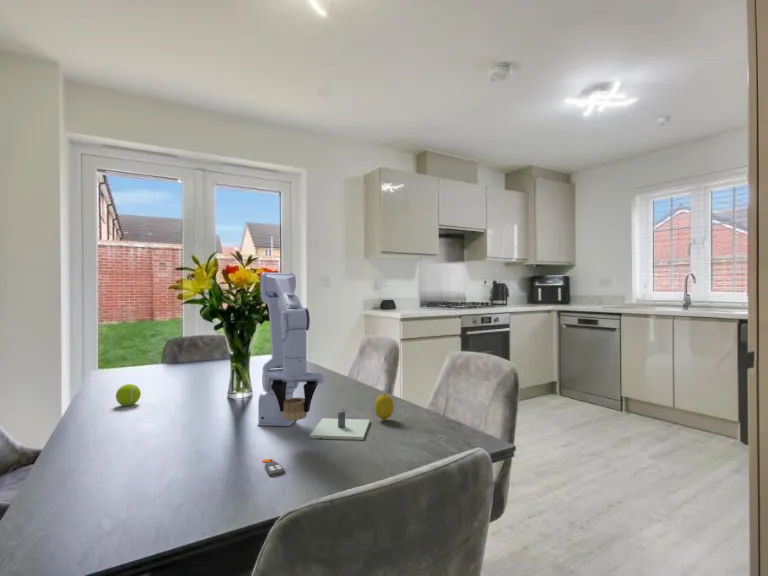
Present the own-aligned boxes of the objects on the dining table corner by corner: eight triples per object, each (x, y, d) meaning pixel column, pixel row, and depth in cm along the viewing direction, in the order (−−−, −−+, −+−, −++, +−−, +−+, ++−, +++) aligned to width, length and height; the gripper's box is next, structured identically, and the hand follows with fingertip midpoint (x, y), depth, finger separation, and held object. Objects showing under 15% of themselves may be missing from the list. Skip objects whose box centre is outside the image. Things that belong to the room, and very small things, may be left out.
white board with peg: (310, 438, 108) (310, 418, 108) (322, 420, 122) (322, 403, 122) (363, 439, 107) (363, 420, 107) (369, 422, 121) (369, 405, 121)
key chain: (287, 475, 88) (287, 468, 88) (269, 479, 86) (269, 472, 86) (270, 454, 99) (270, 448, 99) (254, 457, 97) (254, 451, 97)
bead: (280, 419, 101) (280, 403, 101) (287, 412, 107) (287, 397, 107) (302, 420, 101) (302, 404, 101) (308, 413, 106) (308, 397, 106)
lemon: (391, 424, 119) (391, 396, 119) (372, 422, 120) (372, 395, 120) (394, 418, 125) (395, 391, 125) (376, 417, 126) (377, 390, 126)
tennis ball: (144, 402, 142) (144, 382, 142) (133, 408, 135) (133, 386, 135) (123, 402, 141) (124, 382, 141) (111, 408, 134) (111, 387, 134)
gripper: (260, 358, 101) (260, 414, 101) (319, 359, 99) (319, 416, 99) (271, 354, 108) (271, 406, 108) (326, 355, 106) (326, 408, 106)
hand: (294, 410), depth 104 cm, fingers closed on bead, 6 cm apart
